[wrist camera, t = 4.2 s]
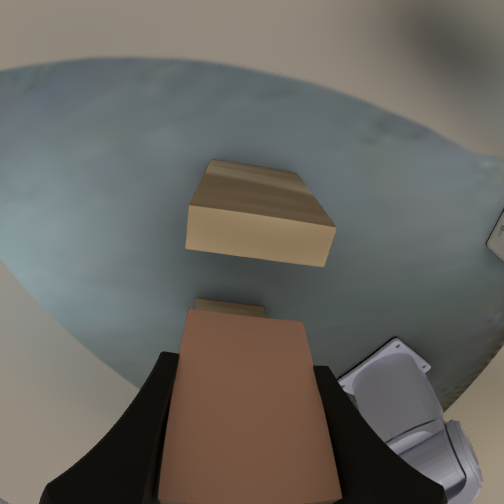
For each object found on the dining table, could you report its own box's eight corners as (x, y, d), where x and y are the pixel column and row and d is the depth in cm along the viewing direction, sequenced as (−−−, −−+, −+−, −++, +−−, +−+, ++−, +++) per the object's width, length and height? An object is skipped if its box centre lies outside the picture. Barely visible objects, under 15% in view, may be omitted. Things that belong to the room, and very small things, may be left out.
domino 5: (290, 197, 18) (324, 267, 11) (208, 185, 17) (185, 248, 10) (296, 172, 17) (336, 227, 10) (211, 159, 16) (189, 205, 9)
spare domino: (293, 345, 13) (321, 508, 6) (186, 334, 13) (162, 506, 6) (302, 321, 13) (342, 498, 6) (188, 308, 12) (157, 497, 5)
